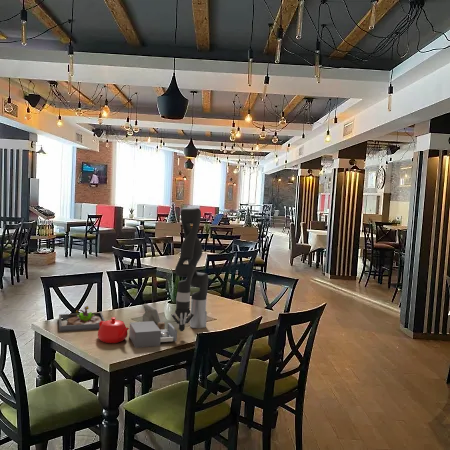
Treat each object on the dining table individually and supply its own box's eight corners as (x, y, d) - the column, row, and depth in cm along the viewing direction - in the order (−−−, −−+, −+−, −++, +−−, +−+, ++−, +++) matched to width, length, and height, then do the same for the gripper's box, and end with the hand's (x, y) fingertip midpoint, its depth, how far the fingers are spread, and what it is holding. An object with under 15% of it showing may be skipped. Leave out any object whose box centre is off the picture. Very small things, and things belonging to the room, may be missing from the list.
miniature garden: (72, 330, 237) (72, 311, 237) (64, 321, 254) (64, 303, 253) (107, 326, 249) (107, 307, 248) (96, 317, 265) (97, 300, 264)
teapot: (87, 338, 225) (87, 315, 224) (111, 332, 237) (112, 310, 237) (115, 350, 210) (116, 326, 209) (140, 342, 222) (141, 320, 221)
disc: (167, 333, 233) (167, 329, 233) (170, 337, 227) (170, 333, 227) (156, 334, 230) (156, 330, 230) (159, 338, 225) (159, 334, 224)
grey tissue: (161, 326, 253) (162, 308, 253) (146, 327, 250) (147, 309, 249) (154, 318, 268) (155, 302, 268) (140, 319, 265) (141, 303, 264)
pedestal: (163, 330, 245) (163, 321, 245) (165, 332, 241) (165, 323, 241) (156, 330, 244) (157, 322, 243) (158, 332, 240) (158, 324, 240)
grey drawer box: (169, 332, 238) (170, 322, 237) (177, 341, 224) (177, 330, 224) (147, 334, 233) (147, 324, 232) (153, 343, 219) (153, 332, 219)
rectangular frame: (101, 316, 266) (101, 312, 266) (105, 328, 243) (106, 323, 243) (59, 319, 256) (59, 314, 256) (59, 331, 233) (59, 326, 233)
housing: (152, 335, 236) (153, 321, 235) (160, 345, 219) (160, 330, 219) (129, 336, 231) (129, 322, 230) (135, 347, 214) (135, 332, 214)
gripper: (173, 301, 226) (171, 333, 226) (196, 301, 231) (195, 332, 231) (169, 298, 233) (168, 329, 233) (192, 298, 238) (191, 328, 238)
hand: (181, 330), depth 232 cm, fingers closed
